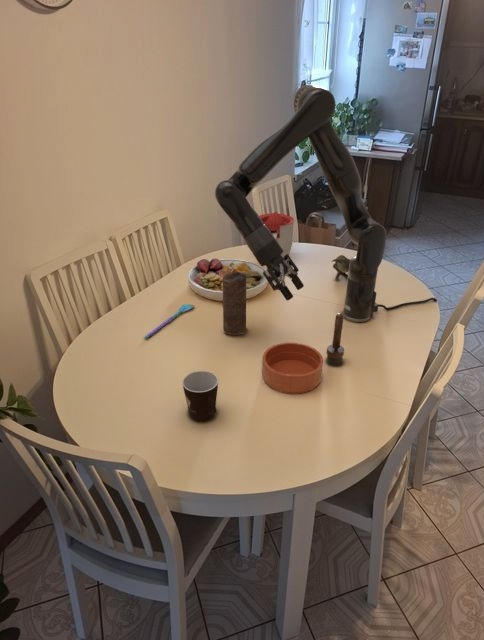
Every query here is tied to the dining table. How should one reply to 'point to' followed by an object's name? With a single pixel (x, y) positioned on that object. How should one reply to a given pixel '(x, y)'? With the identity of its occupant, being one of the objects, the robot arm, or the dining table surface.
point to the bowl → (210, 275)
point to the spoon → (181, 309)
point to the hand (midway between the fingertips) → (295, 293)
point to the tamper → (336, 344)
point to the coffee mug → (201, 394)
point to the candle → (234, 303)
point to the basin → (292, 367)
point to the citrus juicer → (280, 229)
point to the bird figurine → (341, 266)
